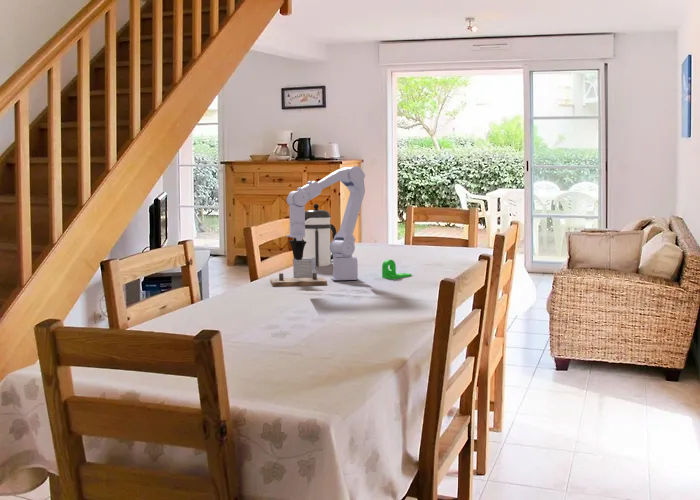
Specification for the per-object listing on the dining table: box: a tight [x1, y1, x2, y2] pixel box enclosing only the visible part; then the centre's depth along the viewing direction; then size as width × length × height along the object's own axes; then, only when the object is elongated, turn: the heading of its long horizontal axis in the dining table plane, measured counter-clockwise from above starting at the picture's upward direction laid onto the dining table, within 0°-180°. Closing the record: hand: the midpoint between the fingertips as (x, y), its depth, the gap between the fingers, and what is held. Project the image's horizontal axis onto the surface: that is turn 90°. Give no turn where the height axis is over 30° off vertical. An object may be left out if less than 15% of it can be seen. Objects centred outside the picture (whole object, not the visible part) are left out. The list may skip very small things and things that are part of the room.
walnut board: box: [269, 272, 328, 288], centre depth 291 cm, size 20×15×4 cm
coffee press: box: [302, 203, 338, 267], centre depth 338 cm, size 17×16×30 cm
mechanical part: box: [381, 259, 412, 280], centre depth 306 cm, size 12×6×8 cm, turn 131°
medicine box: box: [292, 258, 316, 278], centre depth 307 cm, size 8×4×9 cm, turn 75°
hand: (297, 259), depth 290 cm, fingers open, 7 cm apart
